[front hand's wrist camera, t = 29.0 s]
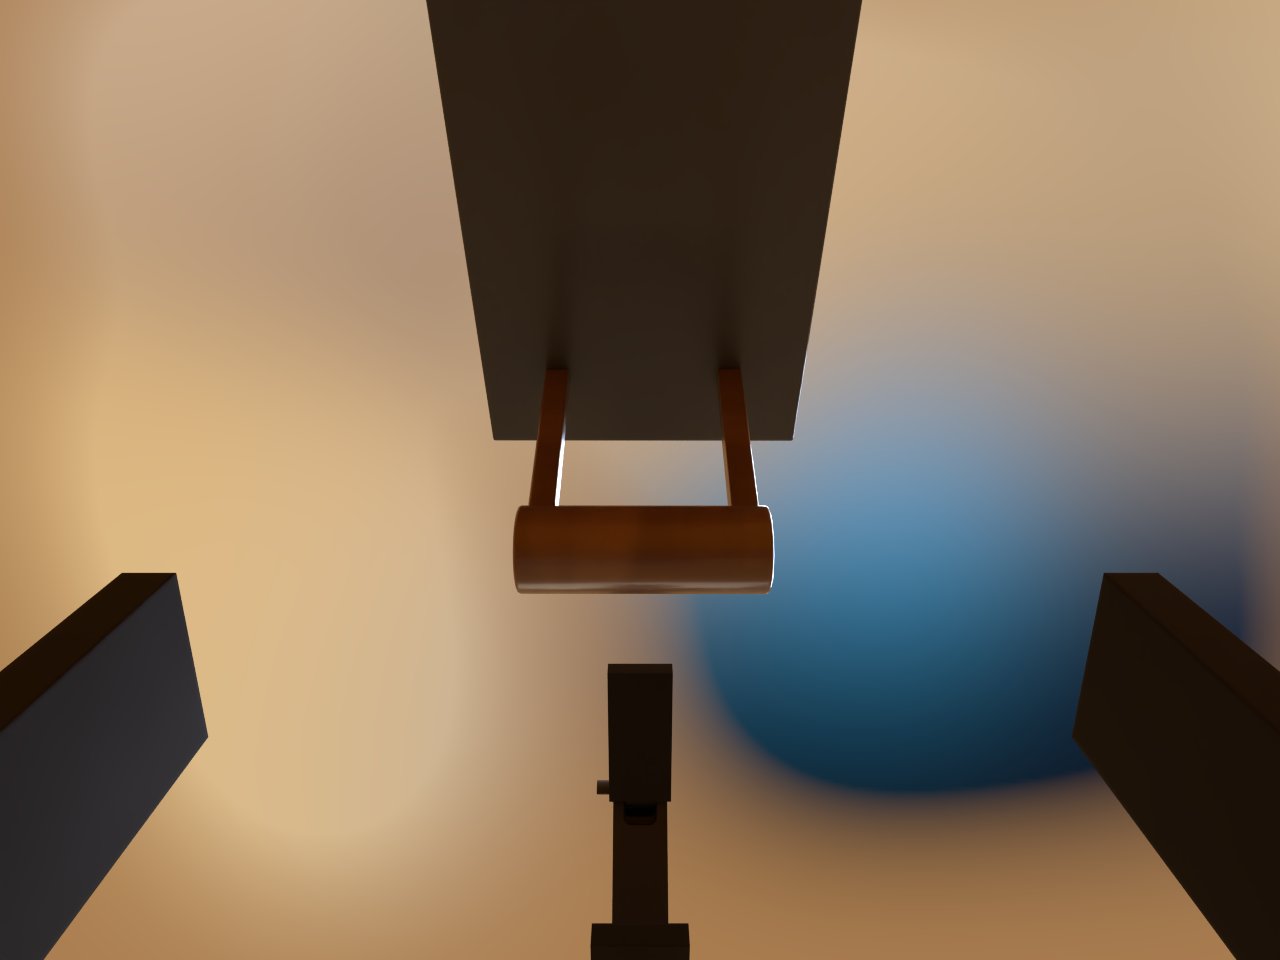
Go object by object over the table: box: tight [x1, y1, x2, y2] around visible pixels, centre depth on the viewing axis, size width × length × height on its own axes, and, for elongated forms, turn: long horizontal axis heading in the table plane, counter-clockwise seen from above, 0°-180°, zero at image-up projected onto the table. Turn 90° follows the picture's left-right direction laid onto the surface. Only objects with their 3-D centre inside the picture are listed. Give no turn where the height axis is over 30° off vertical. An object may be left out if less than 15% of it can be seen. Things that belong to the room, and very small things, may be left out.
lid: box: [426, 0, 862, 594], centre depth 22 cm, size 14×10×9 cm
